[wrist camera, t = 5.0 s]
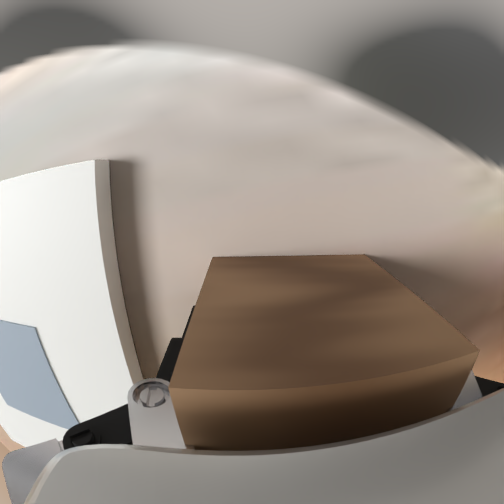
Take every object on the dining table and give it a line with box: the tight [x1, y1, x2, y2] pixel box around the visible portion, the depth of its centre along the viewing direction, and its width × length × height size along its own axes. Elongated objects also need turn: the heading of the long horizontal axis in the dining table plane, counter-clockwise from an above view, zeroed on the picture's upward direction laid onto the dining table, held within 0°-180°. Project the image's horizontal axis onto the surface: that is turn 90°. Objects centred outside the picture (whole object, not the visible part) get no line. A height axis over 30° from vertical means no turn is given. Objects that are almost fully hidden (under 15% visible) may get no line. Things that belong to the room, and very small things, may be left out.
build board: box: [0, 160, 143, 447], centre depth 12 cm, size 18×22×1 cm
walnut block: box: [168, 254, 480, 451], centre depth 8 cm, size 6×6×7 cm
